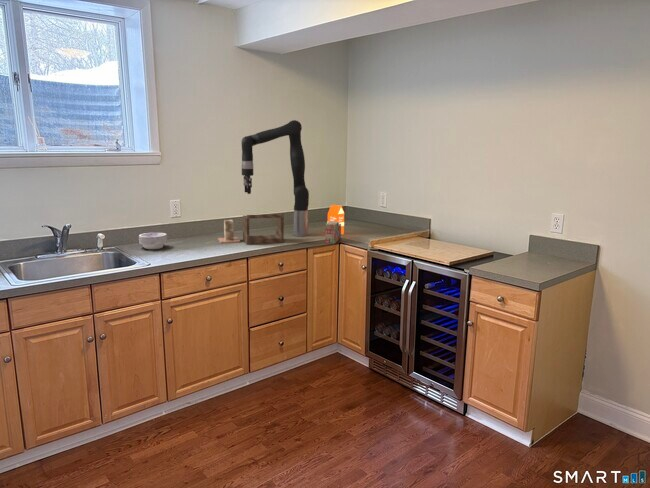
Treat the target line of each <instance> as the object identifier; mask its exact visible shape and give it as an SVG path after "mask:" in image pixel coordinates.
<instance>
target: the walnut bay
mask: <svg viewBox="0 0 650 488" xmlns="http://www.w3.org/2000/svg"><path fill="white" fill-rule="evenodd" d="M284 217H285V216H284V213H270V214H269V213H268V214H265V213H264V214H246V215H242V241H243V242H244V243H245V244H246V245H248V246H249V245H266V244H268V245H269V244H283V243H284V238H285V237H284V233H285V232H284V231H285V230H284V228H285V227H284V225H285V221H284V220H285V218H284ZM274 218H275V219H276V222H275V226H276V228H275V229H276V231H275V232H276V233H275V234H260V235H259V234H257V235H250V219H274Z"/></svg>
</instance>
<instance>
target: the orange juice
mask: <svg viewBox="0 0 650 488" xmlns="http://www.w3.org/2000/svg"><path fill="white" fill-rule="evenodd" d="M329 221H339V224H341V234H342V235H344V234H345V233H344V232H345V211H344V209H343V206H342V205H337V204H331V205H330V207H329V210H328V212H327V222H326V223H328V222H329Z"/></svg>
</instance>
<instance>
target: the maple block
mask: <svg viewBox="0 0 650 488" xmlns="http://www.w3.org/2000/svg"><path fill="white" fill-rule="evenodd" d="M234 234H235V233H234V220H233V219H224V220H223V236H224V237H223V238H224V239H225V240H234V237H235V236H234Z"/></svg>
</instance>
